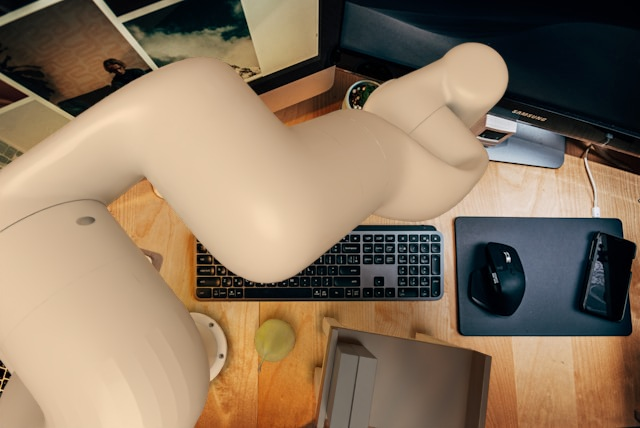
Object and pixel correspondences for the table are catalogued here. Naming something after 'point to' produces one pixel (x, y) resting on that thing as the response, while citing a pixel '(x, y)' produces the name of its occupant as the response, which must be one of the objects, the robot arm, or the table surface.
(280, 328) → the fruit
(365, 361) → the grey book
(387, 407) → the brown shallow tray
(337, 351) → the grey book
